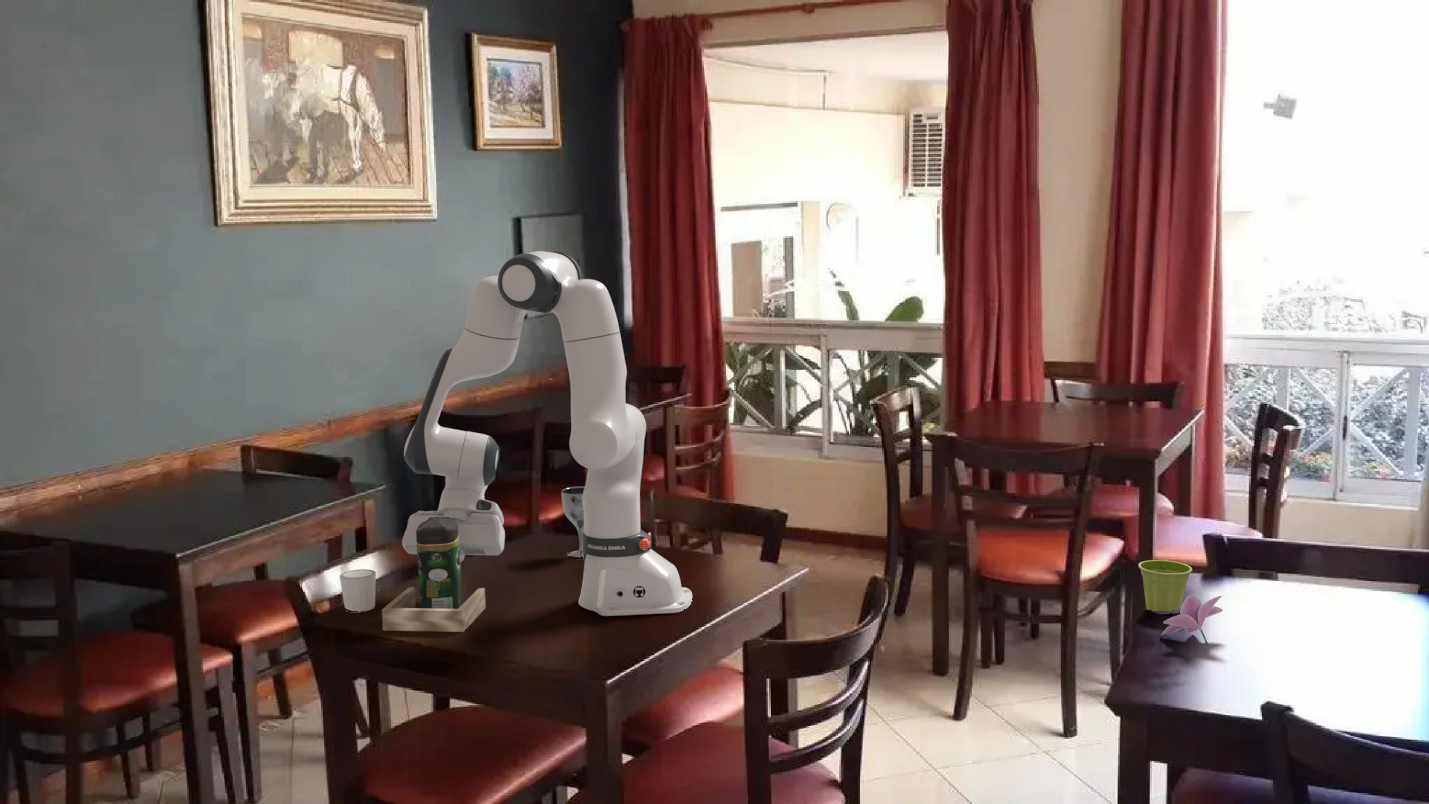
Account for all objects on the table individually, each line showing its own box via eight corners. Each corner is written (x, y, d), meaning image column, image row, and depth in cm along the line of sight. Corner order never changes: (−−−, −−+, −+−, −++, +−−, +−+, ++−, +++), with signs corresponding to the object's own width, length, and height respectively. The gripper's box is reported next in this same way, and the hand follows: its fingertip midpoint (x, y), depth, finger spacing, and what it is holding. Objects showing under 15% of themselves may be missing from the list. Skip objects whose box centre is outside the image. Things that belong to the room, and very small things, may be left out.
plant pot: (1145, 600, 237) (1146, 557, 235) (1196, 608, 231) (1197, 564, 230) (1130, 613, 229) (1132, 568, 228) (1182, 622, 224) (1184, 576, 222)
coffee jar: (424, 606, 242) (419, 514, 239) (465, 604, 243) (460, 513, 240) (417, 621, 232) (411, 526, 230) (459, 619, 233) (454, 524, 230)
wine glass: (564, 551, 281) (561, 487, 279) (599, 549, 282) (596, 485, 279) (563, 560, 273) (561, 494, 271) (599, 558, 274) (597, 493, 272)
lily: (1233, 644, 215) (1212, 591, 218) (1248, 639, 204) (1225, 584, 207) (1166, 663, 216) (1146, 611, 219) (1177, 660, 205) (1155, 605, 208)
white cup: (383, 602, 245) (381, 568, 244) (370, 613, 238) (368, 578, 237) (350, 602, 246) (347, 568, 244) (336, 613, 239) (333, 578, 238)
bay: (485, 607, 240) (484, 588, 239) (463, 631, 226) (462, 610, 226) (409, 606, 242) (408, 587, 241) (383, 630, 228) (381, 609, 227)
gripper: (406, 502, 248) (391, 563, 240) (504, 503, 246) (492, 564, 237) (415, 518, 253) (400, 578, 245) (511, 520, 251) (500, 580, 242)
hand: (446, 571), depth 241 cm, fingers closed, pressing on coffee jar
